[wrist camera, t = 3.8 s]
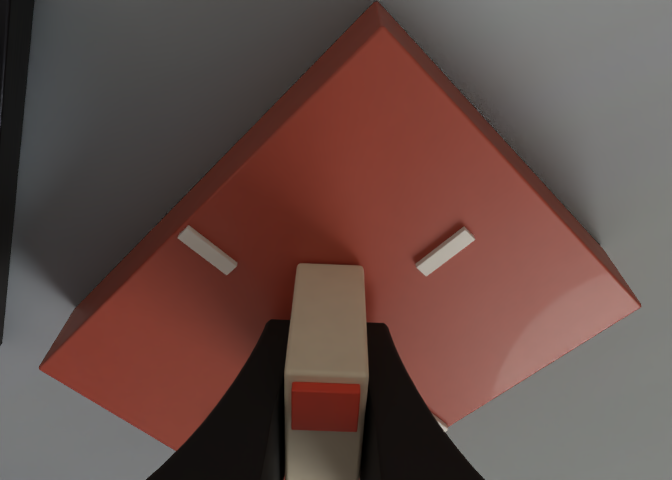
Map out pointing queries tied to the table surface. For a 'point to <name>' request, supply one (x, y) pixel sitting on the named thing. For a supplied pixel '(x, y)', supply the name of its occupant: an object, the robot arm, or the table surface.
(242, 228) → the dial panel
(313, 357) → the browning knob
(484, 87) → the table surface
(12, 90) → the black lever mount
